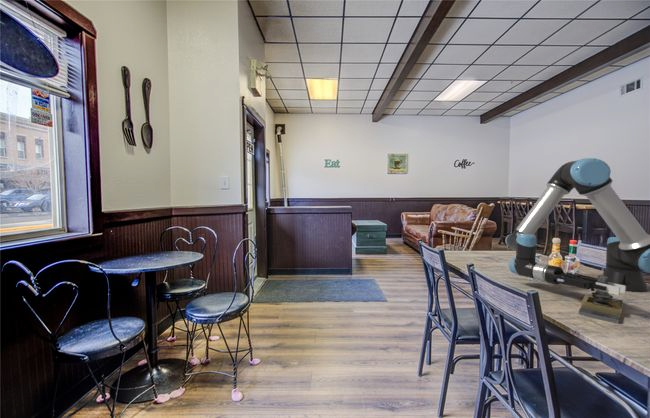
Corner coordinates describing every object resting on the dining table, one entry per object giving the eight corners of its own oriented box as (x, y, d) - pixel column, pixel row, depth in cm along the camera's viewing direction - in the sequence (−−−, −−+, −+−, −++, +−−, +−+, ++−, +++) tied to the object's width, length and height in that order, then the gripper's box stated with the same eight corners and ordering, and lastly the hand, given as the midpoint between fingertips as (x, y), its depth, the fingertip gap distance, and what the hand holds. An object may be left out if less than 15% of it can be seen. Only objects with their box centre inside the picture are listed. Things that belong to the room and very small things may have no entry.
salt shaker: (614, 308, 103) (616, 275, 103) (593, 305, 106) (594, 273, 106) (609, 303, 108) (611, 272, 108) (589, 300, 111) (590, 269, 111)
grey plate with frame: (587, 296, 120) (587, 290, 120) (623, 303, 112) (623, 297, 112) (577, 314, 102) (578, 307, 102) (619, 323, 95) (619, 316, 95)
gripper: (559, 279, 127) (632, 297, 106) (536, 284, 120) (609, 304, 99) (560, 263, 127) (634, 277, 105) (537, 266, 120) (611, 282, 98)
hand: (622, 290), depth 102 cm, fingers closed on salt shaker, 3 cm apart
